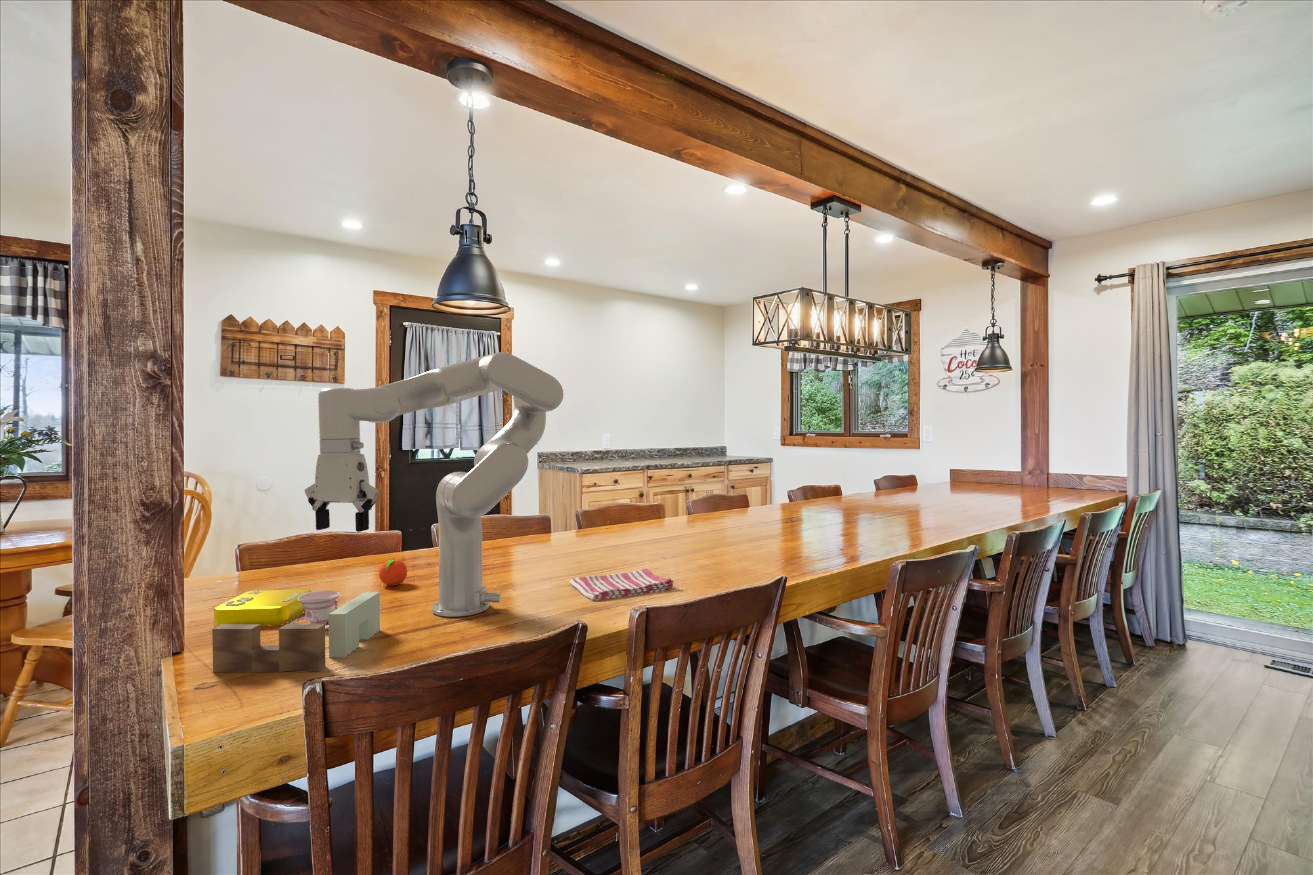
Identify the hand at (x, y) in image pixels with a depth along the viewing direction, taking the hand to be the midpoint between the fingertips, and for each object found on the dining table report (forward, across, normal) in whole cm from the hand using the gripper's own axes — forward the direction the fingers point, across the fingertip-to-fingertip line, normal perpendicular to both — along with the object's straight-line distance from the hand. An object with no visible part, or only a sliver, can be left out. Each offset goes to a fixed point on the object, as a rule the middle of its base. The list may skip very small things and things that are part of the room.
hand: (342, 529), depth 132 cm
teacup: (+21, +8, -2) cm, 22 cm away
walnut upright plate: (+20, -3, +22) cm, 30 cm away
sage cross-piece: (+21, -8, +7) cm, 23 cm away
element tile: (+21, +23, -3) cm, 31 cm away
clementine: (+21, +12, -32) cm, 40 cm away
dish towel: (+22, -46, -46) cm, 69 cm away
